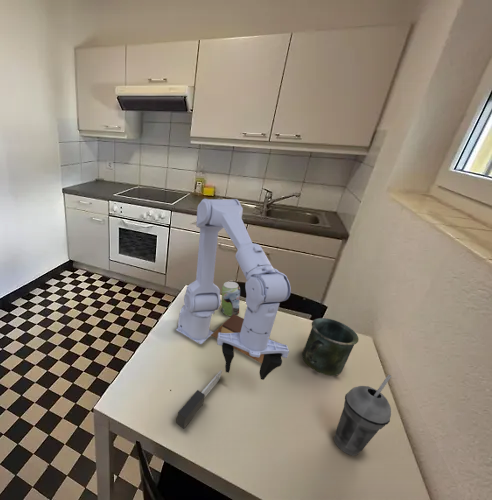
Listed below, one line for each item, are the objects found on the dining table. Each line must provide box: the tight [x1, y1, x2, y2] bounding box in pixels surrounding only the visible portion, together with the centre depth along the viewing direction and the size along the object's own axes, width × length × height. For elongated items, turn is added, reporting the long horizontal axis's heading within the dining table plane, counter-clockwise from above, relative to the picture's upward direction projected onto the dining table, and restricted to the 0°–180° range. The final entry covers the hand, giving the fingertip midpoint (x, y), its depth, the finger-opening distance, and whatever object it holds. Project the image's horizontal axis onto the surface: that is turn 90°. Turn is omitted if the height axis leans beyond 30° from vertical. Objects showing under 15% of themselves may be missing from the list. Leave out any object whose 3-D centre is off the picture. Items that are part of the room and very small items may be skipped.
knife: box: [176, 369, 223, 430], centre depth 67 cm, size 2×18×4 cm, turn 137°
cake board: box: [210, 322, 264, 364], centre depth 87 cm, size 18×12×1 cm, turn 48°
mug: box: [301, 317, 359, 377], centre depth 78 cm, size 11×15×12 cm
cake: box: [221, 314, 244, 333], centre depth 89 cm, size 8×8×4 cm
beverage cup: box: [333, 374, 392, 457], centre depth 56 cm, size 7×7×20 cm
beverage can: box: [221, 281, 241, 317], centre depth 99 cm, size 6×7×12 cm
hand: (244, 372), depth 64 cm, fingers open, 7 cm apart
